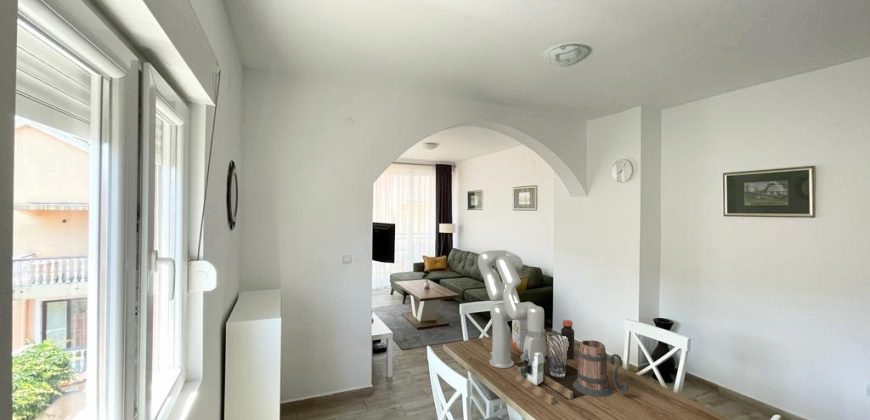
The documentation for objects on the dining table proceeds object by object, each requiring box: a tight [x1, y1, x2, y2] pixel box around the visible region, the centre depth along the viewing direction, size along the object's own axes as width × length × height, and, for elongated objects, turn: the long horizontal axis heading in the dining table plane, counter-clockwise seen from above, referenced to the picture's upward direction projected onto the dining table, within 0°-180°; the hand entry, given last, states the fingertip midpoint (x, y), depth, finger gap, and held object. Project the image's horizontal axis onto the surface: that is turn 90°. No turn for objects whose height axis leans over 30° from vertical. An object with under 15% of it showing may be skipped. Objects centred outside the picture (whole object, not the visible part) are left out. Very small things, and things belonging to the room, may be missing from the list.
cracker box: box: [511, 318, 527, 353], centre depth 213 cm, size 14×6×21 cm, turn 6°
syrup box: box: [526, 353, 545, 386], centre depth 168 cm, size 6×6×14 cm
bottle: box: [560, 319, 575, 360], centre depth 199 cm, size 7×7×20 cm
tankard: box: [572, 339, 630, 398], centre depth 162 cm, size 24×17×20 cm
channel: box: [515, 365, 574, 406], centre depth 163 cm, size 24×12×6 cm, turn 24°
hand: (535, 371), depth 168 cm, fingers closed on syrup box, 7 cm apart
